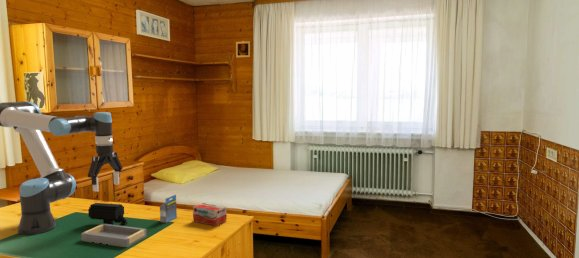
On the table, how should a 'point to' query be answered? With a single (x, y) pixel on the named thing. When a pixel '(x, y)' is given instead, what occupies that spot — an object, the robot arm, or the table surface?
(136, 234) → the tester cradle
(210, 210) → the medicine box
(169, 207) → the label tape cartridge
